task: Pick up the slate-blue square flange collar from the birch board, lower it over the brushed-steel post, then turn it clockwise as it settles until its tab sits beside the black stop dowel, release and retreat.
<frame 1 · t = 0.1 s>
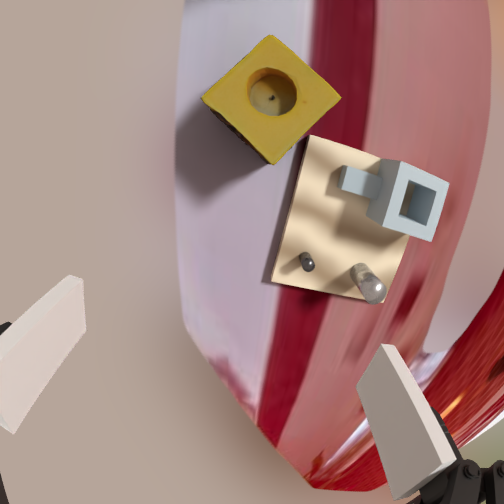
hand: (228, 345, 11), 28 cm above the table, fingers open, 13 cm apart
dowel: (302, 253, 40), resting on board
board: (350, 224, 38), on the table
yellow black cube: (267, 111, 33), on the table
post: (356, 267, 40), resting on board
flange: (357, 181, 34), point 2 cm above the table, touching board
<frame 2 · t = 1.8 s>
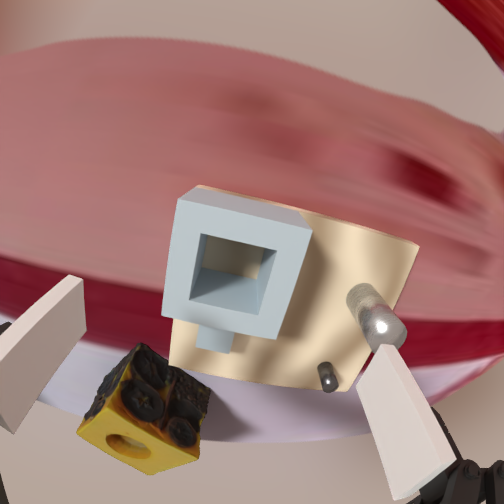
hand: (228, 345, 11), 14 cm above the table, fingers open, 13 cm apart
dowel: (321, 357, 29), resting on board
board: (287, 305, 26), on the table
yellow black cube: (154, 383, 31), on the table
post: (355, 289, 26), resting on board
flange: (219, 315, 25), point 2 cm above the table, touching board
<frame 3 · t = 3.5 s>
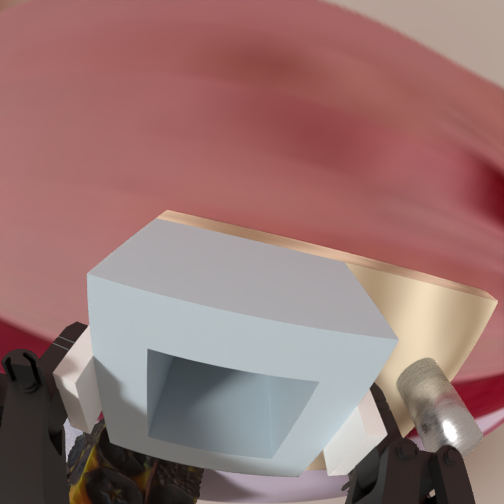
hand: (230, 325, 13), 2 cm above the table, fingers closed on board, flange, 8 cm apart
board: (310, 387, 16), on the table
yellow black cube: (134, 451, 21), on the table
post: (407, 360, 16), resting on board
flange: (209, 407, 15), point 2 cm above the table, touching gripper
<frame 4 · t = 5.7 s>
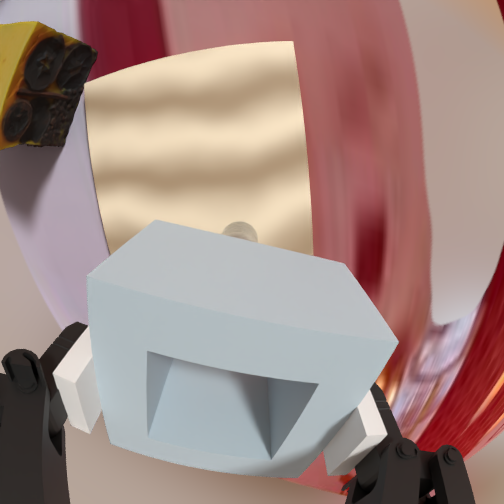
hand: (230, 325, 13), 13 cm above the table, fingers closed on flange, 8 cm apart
board: (196, 169, 23), on the table
yellow black cube: (50, 90, 20), on the table
post: (240, 233, 25), resting on board
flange: (209, 408, 15), point 13 cm above the table, touching gripper
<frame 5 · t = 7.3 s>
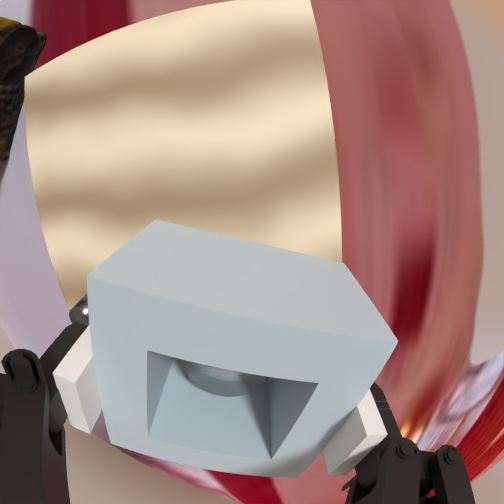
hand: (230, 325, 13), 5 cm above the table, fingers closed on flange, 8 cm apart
dowel: (112, 284, 18), resting on board
board: (170, 186, 16), on the table
post: (237, 277, 17), resting on board
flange: (209, 408, 15), point 5 cm above the table, touching gripper
when the fingers open (3 cm above the table, at t = 8.4 s): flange stays where it is, resting on board.
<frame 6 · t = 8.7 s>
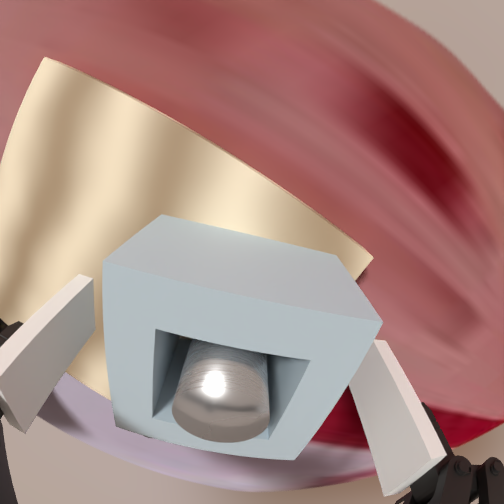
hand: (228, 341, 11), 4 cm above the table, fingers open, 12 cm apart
board: (117, 278, 15), on the table
post: (234, 295, 15), resting on board
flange: (210, 396, 16), point 2 cm above the table, touching board
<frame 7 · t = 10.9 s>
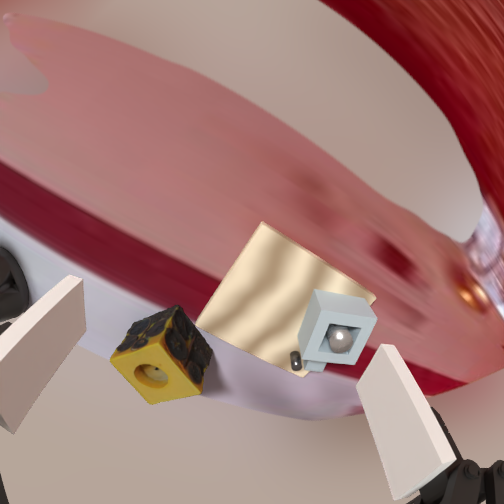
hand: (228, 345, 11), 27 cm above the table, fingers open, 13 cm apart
dowel: (293, 348, 44), resting on board
board: (285, 308, 41), on the table
yellow black cube: (172, 336, 44), on the table
post: (329, 311, 41), resting on board
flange: (316, 351, 42), point 2 cm above the table, touching board
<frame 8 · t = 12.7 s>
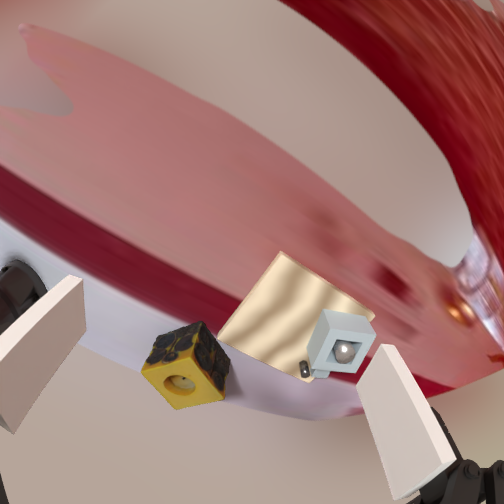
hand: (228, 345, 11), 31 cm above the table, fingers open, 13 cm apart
dowel: (302, 357, 49), resting on board
board: (297, 324, 47), on the table
yellow black cube: (193, 347, 49), on the table
post: (334, 326, 47), resting on board
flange: (322, 360, 48), point 2 cm above the table, touching board
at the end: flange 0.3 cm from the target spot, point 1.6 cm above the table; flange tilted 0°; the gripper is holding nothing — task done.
